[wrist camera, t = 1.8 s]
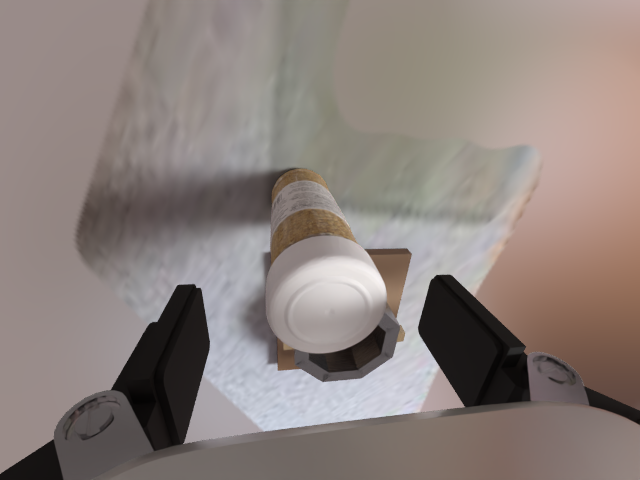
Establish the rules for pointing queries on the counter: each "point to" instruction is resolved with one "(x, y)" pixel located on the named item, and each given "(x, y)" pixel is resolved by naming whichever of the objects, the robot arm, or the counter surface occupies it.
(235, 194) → the counter surface
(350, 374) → the socket
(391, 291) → the walnut board
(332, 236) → the sprinkles bottle
